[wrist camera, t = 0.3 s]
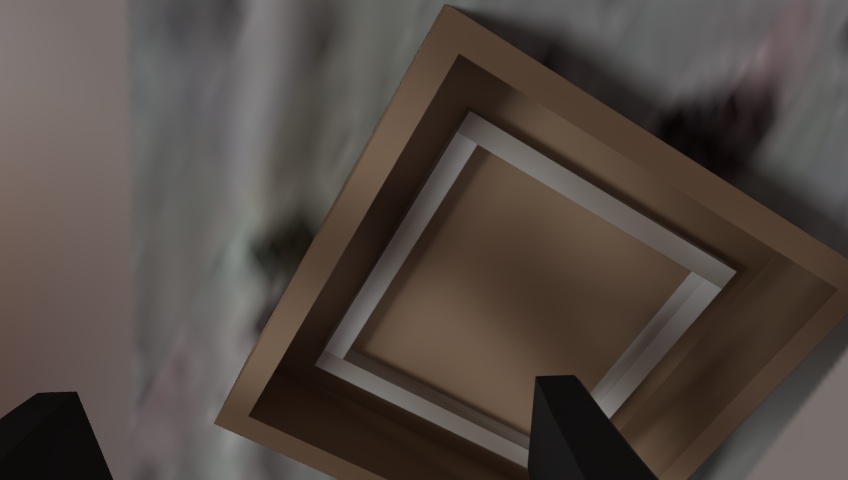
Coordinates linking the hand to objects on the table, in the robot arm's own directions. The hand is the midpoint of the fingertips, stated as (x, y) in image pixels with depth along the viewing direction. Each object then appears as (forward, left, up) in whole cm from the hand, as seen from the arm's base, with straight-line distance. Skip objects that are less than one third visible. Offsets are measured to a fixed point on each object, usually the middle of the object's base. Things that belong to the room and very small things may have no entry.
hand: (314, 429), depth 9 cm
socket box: (0, -6, -11) cm, 12 cm away
